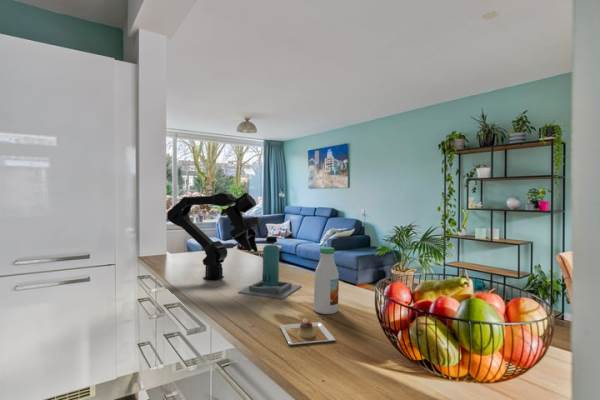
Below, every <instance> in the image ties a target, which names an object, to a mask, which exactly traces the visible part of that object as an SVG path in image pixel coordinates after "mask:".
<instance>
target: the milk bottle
mask: <svg viewBox="0 0 600 400" xmlns="http://www.w3.org/2000/svg"><path fill="white" fill-rule="evenodd" d="M335 252H336V251H335V248H334V247H330V246H322V247H320V248H319V254H320V259H319V261H318V264H317V266H316V268H315V271H314V284H313V285H314V286H313V311H314V312H315V313H318V314H323V315H332V314H336V313H337V312H338V310H339V291H340V289H339V288H340V287H339V286H340V285H339V282H340V279H339V270H338V267H337V264H336V262H335V258H334V256H335Z"/></svg>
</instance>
